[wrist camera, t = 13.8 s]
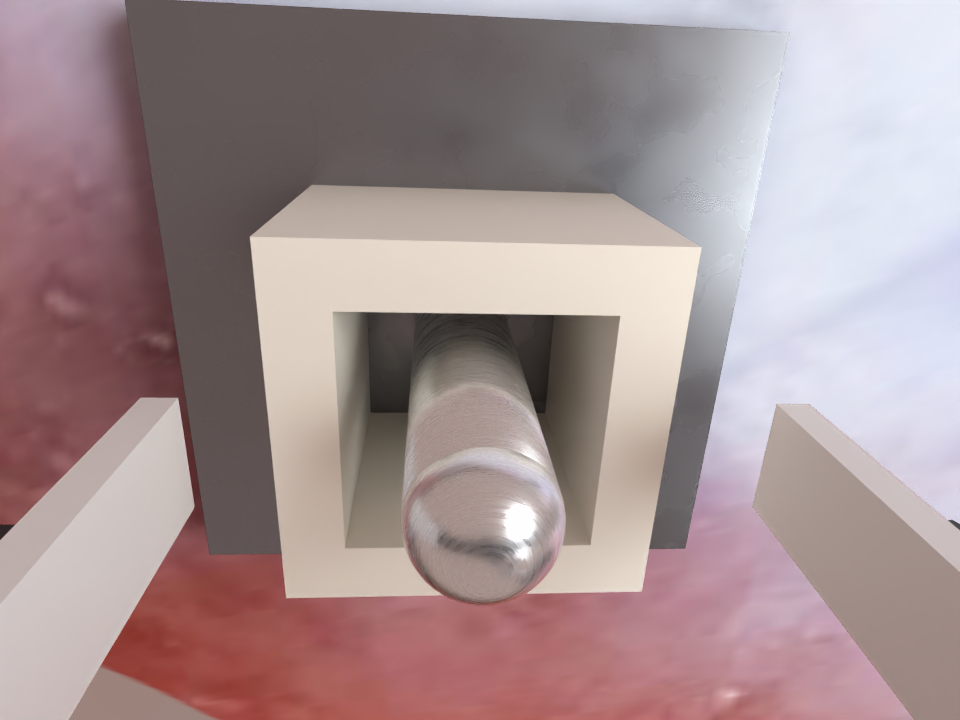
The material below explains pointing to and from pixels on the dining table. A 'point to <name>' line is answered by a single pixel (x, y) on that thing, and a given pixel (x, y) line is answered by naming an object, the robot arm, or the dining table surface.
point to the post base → (443, 165)
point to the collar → (471, 290)
